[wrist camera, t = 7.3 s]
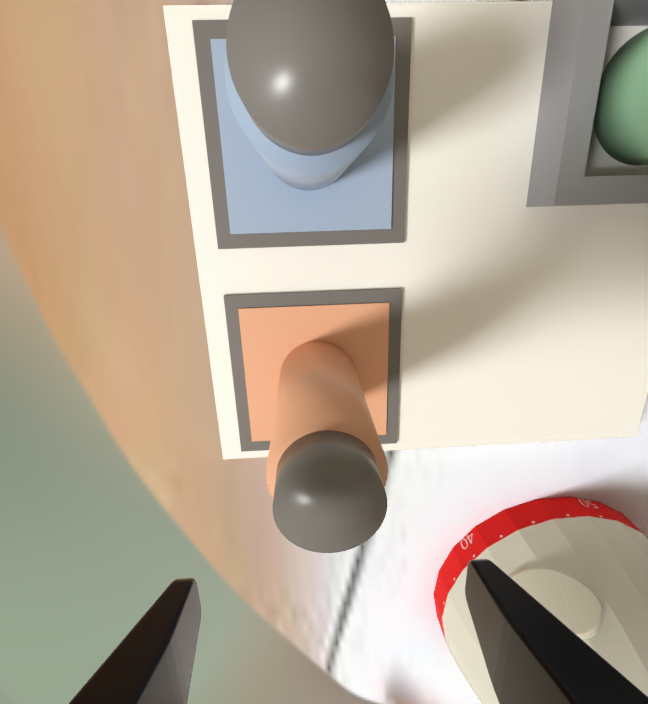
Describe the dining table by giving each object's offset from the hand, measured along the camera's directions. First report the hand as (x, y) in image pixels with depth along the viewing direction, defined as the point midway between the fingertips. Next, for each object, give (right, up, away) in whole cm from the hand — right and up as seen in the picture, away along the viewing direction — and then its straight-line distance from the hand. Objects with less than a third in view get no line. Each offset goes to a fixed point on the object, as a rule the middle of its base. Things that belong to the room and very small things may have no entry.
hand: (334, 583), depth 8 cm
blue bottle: (-1, +13, +7) cm, 15 cm away
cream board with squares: (+5, +9, +10) cm, 15 cm away
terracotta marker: (0, +4, +11) cm, 11 cm away
